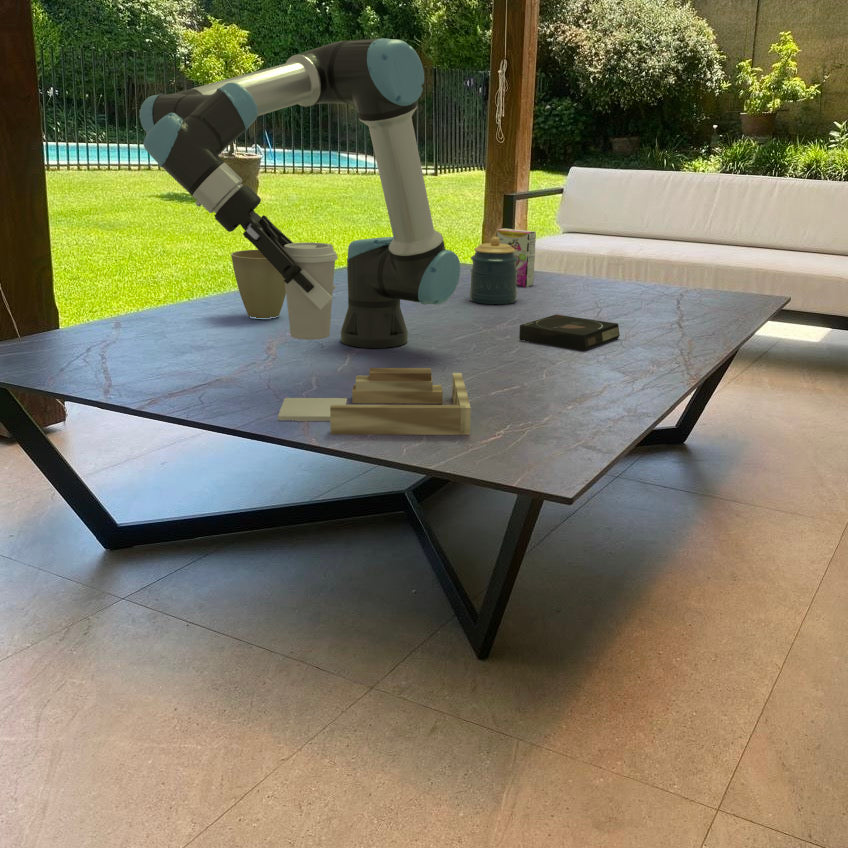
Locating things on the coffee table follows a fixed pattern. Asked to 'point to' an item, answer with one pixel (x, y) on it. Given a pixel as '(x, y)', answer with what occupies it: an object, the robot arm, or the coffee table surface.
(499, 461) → the coffee table surface
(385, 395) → the offcut stack
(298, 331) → the coffee cup
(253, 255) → the plant pot
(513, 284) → the canister
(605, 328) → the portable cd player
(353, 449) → the coffee table surface
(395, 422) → the frame
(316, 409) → the ceramic tile
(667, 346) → the coffee table surface
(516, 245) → the candy bar box
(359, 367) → the coffee table surface
